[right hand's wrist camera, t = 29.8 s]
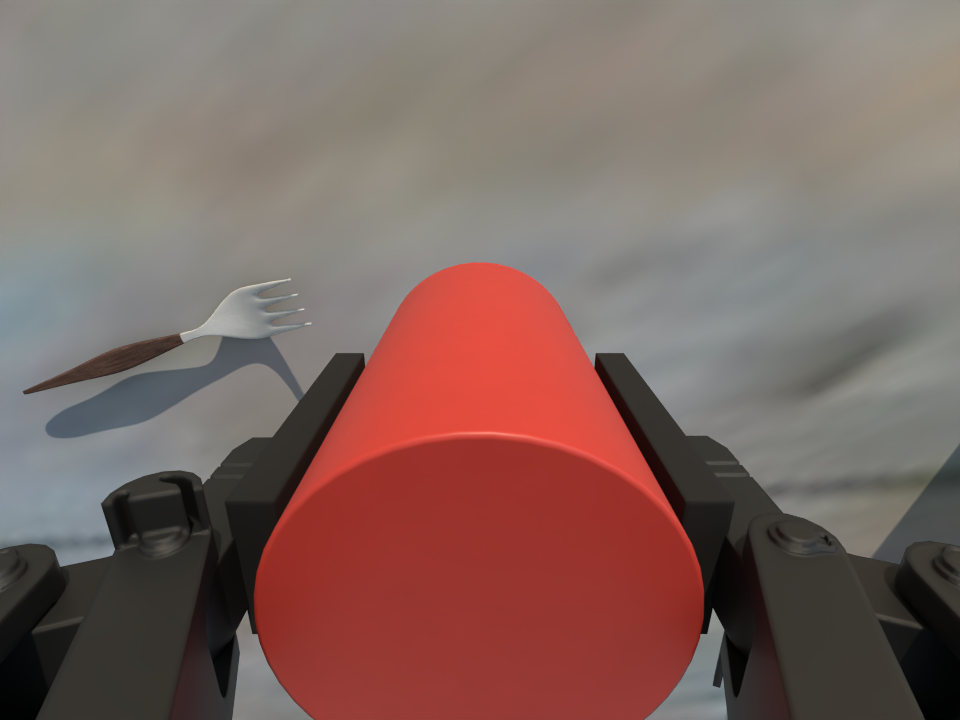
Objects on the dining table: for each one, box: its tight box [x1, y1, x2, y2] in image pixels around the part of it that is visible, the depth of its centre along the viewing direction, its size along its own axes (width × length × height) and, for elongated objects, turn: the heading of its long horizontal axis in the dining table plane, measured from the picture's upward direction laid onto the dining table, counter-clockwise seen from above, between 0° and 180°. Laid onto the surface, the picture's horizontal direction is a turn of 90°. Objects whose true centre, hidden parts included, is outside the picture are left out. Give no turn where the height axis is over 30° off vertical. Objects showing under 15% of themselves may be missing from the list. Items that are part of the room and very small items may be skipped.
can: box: [254, 263, 704, 720], centre depth 12 cm, size 6×6×11 cm
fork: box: [23, 279, 312, 394], centre depth 25 cm, size 3×16×2 cm, turn 109°
